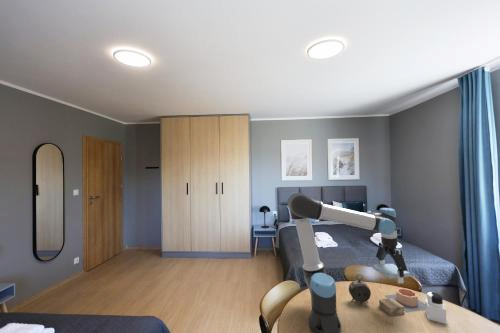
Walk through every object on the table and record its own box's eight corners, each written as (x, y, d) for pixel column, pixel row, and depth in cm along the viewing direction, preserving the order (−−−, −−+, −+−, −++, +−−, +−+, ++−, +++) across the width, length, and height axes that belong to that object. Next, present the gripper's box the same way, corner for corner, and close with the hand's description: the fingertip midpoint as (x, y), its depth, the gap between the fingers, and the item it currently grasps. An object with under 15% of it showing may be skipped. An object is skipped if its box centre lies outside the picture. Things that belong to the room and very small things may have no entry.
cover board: (389, 278, 111) (388, 274, 111) (373, 268, 123) (372, 265, 123) (410, 276, 113) (410, 273, 113) (392, 266, 125) (392, 263, 125)
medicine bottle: (443, 316, 111) (441, 292, 112) (447, 324, 105) (445, 299, 106) (425, 312, 115) (424, 289, 115) (428, 320, 109) (426, 295, 109)
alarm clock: (368, 300, 126) (367, 272, 127) (372, 306, 121) (371, 276, 122) (348, 300, 128) (347, 272, 128) (352, 305, 122) (350, 276, 123)
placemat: (406, 313, 115) (406, 312, 115) (384, 296, 130) (383, 295, 130) (433, 309, 117) (433, 309, 117) (407, 293, 132) (407, 293, 132)
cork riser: (390, 316, 112) (390, 308, 112) (379, 307, 120) (379, 299, 120) (404, 314, 113) (404, 306, 113) (392, 305, 121) (392, 298, 121)
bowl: (406, 308, 118) (406, 298, 118) (392, 298, 128) (392, 288, 128) (422, 306, 119) (421, 296, 120) (407, 296, 129) (407, 287, 129)
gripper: (414, 243, 107) (417, 287, 106) (379, 230, 131) (381, 267, 130) (400, 244, 106) (403, 289, 105) (368, 231, 130) (369, 268, 129)
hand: (391, 277), depth 118 cm, fingers closed on cover board, 12 cm apart
